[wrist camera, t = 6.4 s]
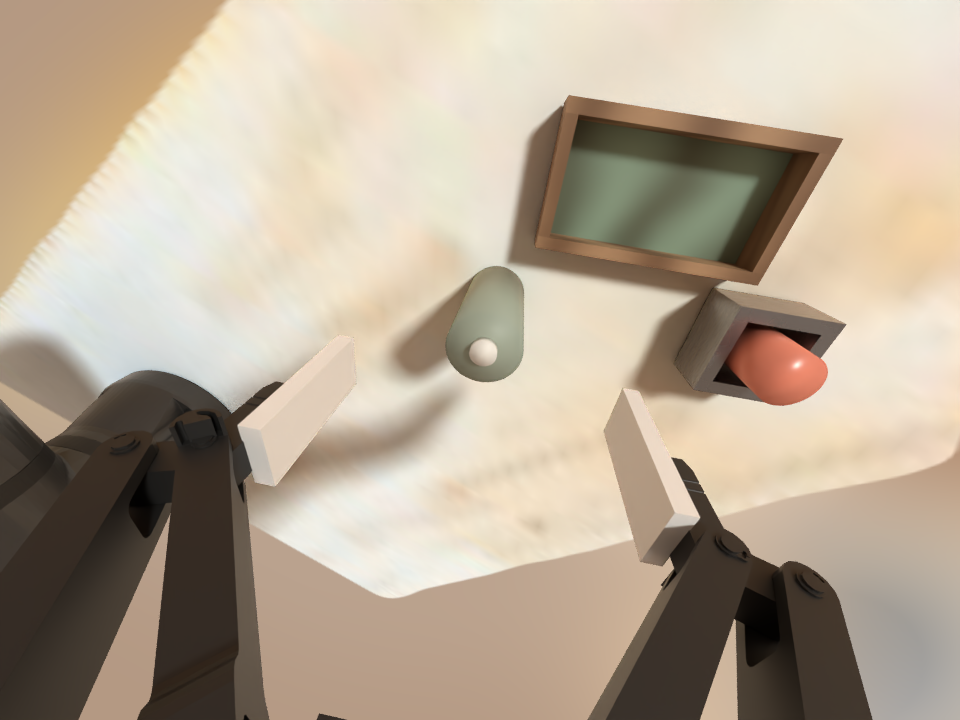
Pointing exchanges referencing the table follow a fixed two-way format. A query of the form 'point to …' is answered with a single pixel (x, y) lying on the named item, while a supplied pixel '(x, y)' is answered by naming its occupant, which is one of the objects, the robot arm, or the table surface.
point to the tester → (726, 324)
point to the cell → (489, 327)
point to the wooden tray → (676, 189)
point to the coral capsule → (775, 366)
